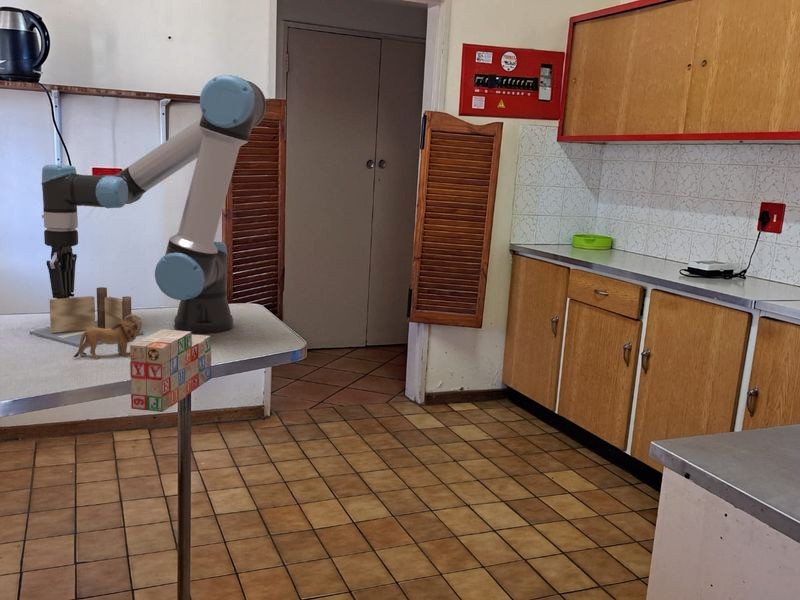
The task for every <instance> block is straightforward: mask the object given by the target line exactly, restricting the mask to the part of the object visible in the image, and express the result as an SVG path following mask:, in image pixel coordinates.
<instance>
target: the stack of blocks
mask: <svg viewBox="0 0 800 600" xmlns="http://www.w3.org/2000/svg"><path fill="white" fill-rule="evenodd" d="M211 339H212V337H211V335H204V334H193V332H190V331H180V330H177V329H173V330H172V329H165V328H164V329H160V330H158V331H156V332H154V333H152V334H150V335H148V336H146V337H144V338H142V339H139V340H137V341H135V342H133V343H130V344H129V351H130V352H129V353H130V354H129V356H130V357H129V359H130V361H129V369H130V370H129V373H130V391H131V392H130V399H131V403H130V405H131V406H130V407H131V409H133V410H139V411H151V412H157V413H164V412H166V411H167V410H168V409H170V408H171V407H173V406H175V405H176V404H177V403H179V402H180V401H182V400H183V399H185V398H186V397H187V396H188V395H189V394H191V393H192V392H194V391H195V390H197V389H198V388H200V387H201V386H202V385H204V384H206V383H207V382H208V381H210V380H211V379H212V350H211V348H212V345H211V344H212V343H211V342H212V341H211Z"/></svg>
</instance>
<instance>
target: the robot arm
mask: <svg viewBox="0 0 800 600" xmlns="http://www.w3.org/2000/svg"><path fill="white" fill-rule="evenodd" d="M199 106H200V109H201V117H200V118H198V119H196V121H194V122H193V123H190V124H189V125H188V126H187V127H185V128H183V129H182V130H181V131H179V132H178V133H176V134H175V135H174V136H172V137H170V138H168V139H167V140H166V141H164V142H163V143H162V144H160V145H158V146H157V147H155V148H154V149H152V150H151V151H149V152H148V153H146V154H145V155H143V156H142V157H140V158H139V159H138V160H136V161H134V162H133V163H132V164H130V165H129V166H128V167H126V168H124V169H123V170H121V171H119V173H116V174H105V175H94V174H93V175H90V174H79V173H77V169H76V167H75V166H73V165H67V164H46V165H44V166H43V167H42V169H41V183H40V184H41V190H42V202H43V203H42V205H43V207H42V208H43V211H42V212H43V214H42V215H41V218H42V219H43V227H44V228H46V229H45V230H44V232H43V237H44V239H43V240H44V245H45V246H48V247H51V252H50V260H46V267H47V269H48V275H49V282H50V287H51V294H52V299H59V298H73V297H75V293H74V292H75V281H76V280H75V278H76V263H77V258H78V255H77V253H74V252H73V247H75V246H77V245H78V244H79V232H78V230H77V228H78V227H79V224H78V223H79V220H78V207H82V206H83V207H93V208H94V207H95V208H106V209H116V208H117V209H120V208H124V206H125V205H131V204H133V203H135V202H137V201H139V200H140V199H142V197H143V195H144V194H145V193H147V191H149V190H150V189H152V188H153V187H156V186H157V185H158V184H160V183H162V182H163V181H164V180H166V179H167V178H169V177H170V176H172V175H174V174H175V173H177V172H178V171H180V170H182V168H184V167H186V166H187V165H189V164H190V163H192V162H193V161H195V160H196V159H197V160H196V162H195V166H194V170H193V175H192V178H191V182H190V185H189V190H188V193H187V196H186V197H187V198H186V201H185V204H184V209H183V211H182V216H181V219H180V224H179V227H178V231H177V233H176V234H173V235H172V236H170V237H169V239H168V243H167V246H166V250H165V254H164V255H163V256H162V257H160V259H159V261H158V262H157V264H156V265H155V269H154V278H155V282H156V285H157V286H158V288H159V289H160V291H161V292H162V293H163V294H164V295H166V296H167V297H169V298H171V299H173V300H177V301H179V304H178V308H177V312H176V314H175V316H174V320H173V321H174V322H173V323H174V326H173V327H174V328H175V330H176V331H190V332H192V334H193V333H196V334H207V333H209V334H211V333H221V332H224V331H229V330H230V329H232V328H234V317H233V315H232V314H231V308H230V305H229V302H228V298H227V289H228V287H227V286H228V282H227V281H228V280H227V278H228V273H227V271H228V255H229V254H228V249H227V244H225V242H222V241H215V238H216V234H217V231H218V227H219V224H220V220H221V217H222V214H223V210H224V206H225V202H226V198H227V194H228V191H229V187H230V184H231V182H232V181H231V180H232V177H233V173H234V171H235V167H236V162H237V159H238V155H239V150H240V148H241V147H242V146H244V145H246V144H247V143H249V141H250V140H249V139H250V136H251V132H252V129H253V128H255V127H257V125H259V124H260V123H261V122H262V120H263V119H264V117H265V115H266V111H267V101H266V96H265V95H264V92H263V91H262V89H261V88H260V87H259V86H258V85H256V84H255V83H254V82H251V81H249V80H246V79H244V78H242V77H239V76H238V75H237V76H236V75H232V74H231V75H230V74H221V75H218V76H215V77H214V78H211V79H210V80H208V82H207V83H206V84H205V85H204V87H202V90H201V93H200V97H199Z"/></svg>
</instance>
